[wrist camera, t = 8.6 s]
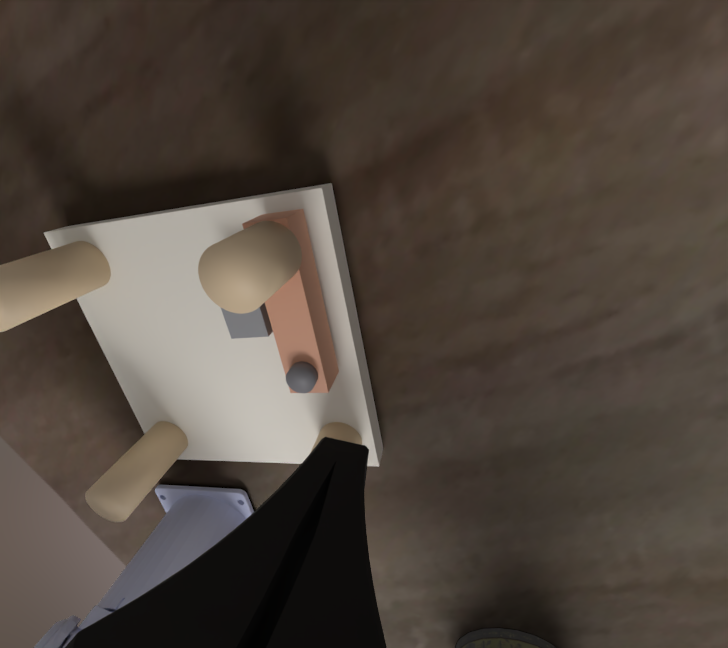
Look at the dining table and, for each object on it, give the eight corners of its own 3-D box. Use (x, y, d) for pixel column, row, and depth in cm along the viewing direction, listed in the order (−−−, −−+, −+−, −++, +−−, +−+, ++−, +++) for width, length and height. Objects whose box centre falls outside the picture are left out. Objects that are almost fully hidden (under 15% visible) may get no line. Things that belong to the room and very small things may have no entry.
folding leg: (344, 371, 21) (311, 440, 16) (298, 372, 22) (255, 438, 17) (309, 207, 17) (256, 238, 13) (256, 215, 18) (187, 246, 14)
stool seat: (383, 448, 25) (358, 553, 19) (170, 443, 29) (94, 528, 23) (331, 183, 19) (267, 213, 12) (67, 226, 23) (-77, 264, 17)
